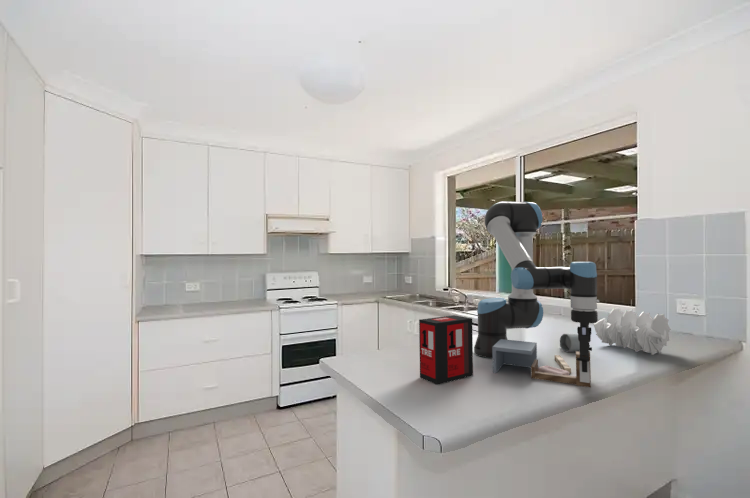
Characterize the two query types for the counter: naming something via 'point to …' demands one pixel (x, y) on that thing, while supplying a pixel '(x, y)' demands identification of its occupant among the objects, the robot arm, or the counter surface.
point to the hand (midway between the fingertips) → (585, 376)
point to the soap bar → (552, 370)
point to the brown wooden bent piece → (559, 377)
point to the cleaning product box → (446, 348)
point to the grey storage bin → (513, 353)
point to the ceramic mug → (570, 342)
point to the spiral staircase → (634, 330)
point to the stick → (562, 363)
